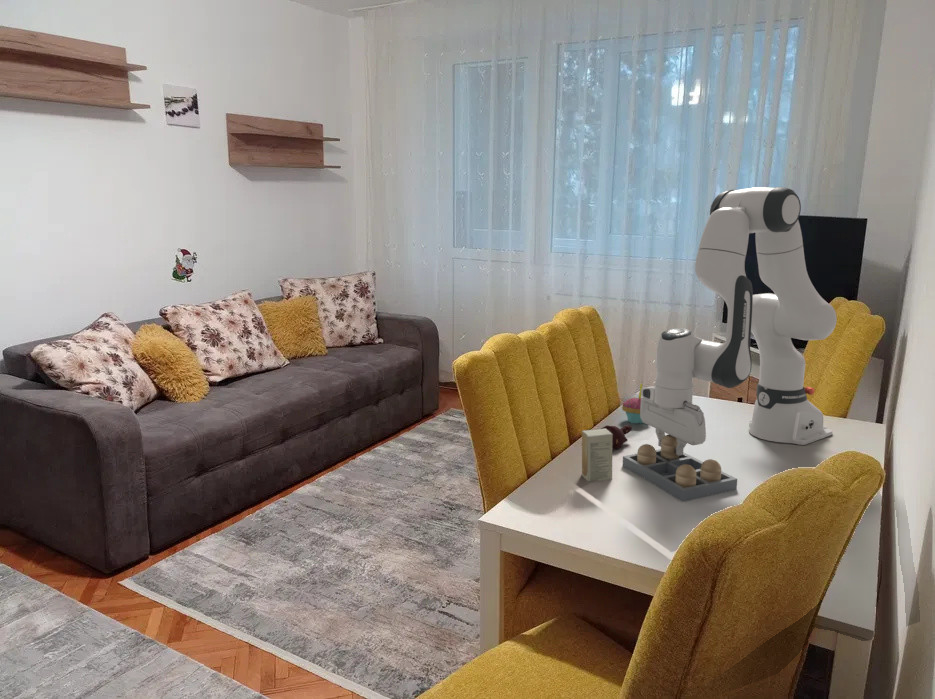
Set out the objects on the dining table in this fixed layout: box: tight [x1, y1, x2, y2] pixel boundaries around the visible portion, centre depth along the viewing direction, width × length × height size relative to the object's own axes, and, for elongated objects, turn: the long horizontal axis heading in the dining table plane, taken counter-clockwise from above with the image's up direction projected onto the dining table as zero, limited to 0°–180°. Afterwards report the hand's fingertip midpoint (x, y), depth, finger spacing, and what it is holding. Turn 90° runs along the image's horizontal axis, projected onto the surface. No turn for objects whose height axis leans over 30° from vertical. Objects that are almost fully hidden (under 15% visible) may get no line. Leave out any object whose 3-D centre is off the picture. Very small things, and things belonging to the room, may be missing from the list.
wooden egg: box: [660, 434, 679, 461], centre depth 164 cm, size 4×4×6 cm
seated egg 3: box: [700, 458, 722, 483], centre depth 152 cm, size 4×4×6 cm
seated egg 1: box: [636, 443, 657, 465], centre depth 162 cm, size 4×4×6 cm
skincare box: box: [581, 428, 613, 482], centre depth 157 cm, size 6×4×12 cm
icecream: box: [600, 424, 633, 450], centre depth 177 cm, size 7×7×15 cm
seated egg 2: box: [675, 464, 697, 488], centre depth 149 cm, size 4×4×6 cm
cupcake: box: [621, 382, 644, 424], centre depth 199 cm, size 9×8×12 cm
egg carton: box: [622, 448, 738, 502], centre depth 157 cm, size 15×22×4 cm
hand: (670, 450), depth 165 cm, fingers closed on wooden egg, 4 cm apart
